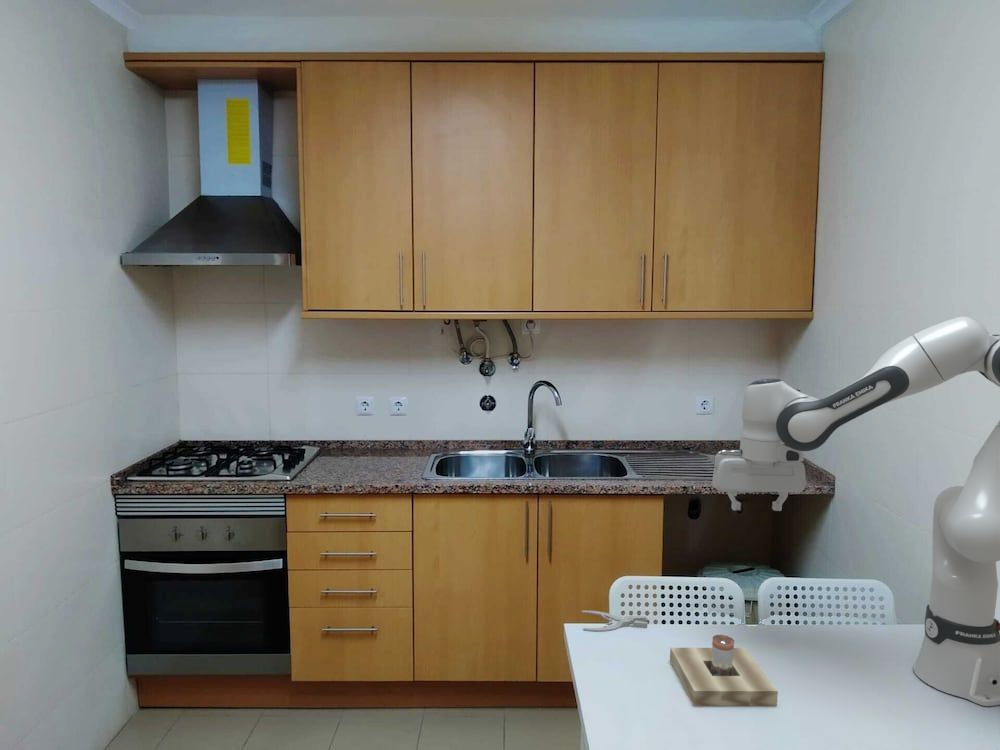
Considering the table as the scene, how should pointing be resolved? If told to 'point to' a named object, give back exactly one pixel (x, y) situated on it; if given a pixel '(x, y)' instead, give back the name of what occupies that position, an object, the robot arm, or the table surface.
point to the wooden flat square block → (722, 679)
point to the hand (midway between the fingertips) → (756, 510)
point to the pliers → (627, 621)
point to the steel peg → (722, 655)
